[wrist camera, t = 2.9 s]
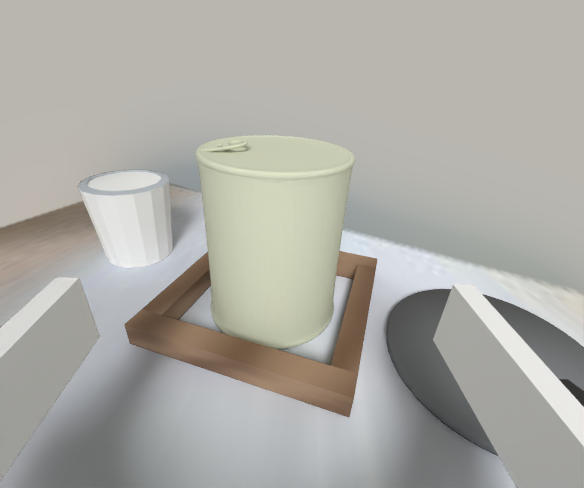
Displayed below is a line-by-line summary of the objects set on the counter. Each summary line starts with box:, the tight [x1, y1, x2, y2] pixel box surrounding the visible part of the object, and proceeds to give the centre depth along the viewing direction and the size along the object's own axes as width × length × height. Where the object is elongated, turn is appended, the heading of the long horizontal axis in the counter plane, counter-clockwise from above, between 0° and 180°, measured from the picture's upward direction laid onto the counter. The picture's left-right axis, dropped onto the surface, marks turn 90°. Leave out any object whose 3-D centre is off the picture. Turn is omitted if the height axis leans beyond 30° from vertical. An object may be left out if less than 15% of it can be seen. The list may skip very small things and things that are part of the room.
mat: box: [387, 289, 584, 455], centre depth 20 cm, size 13×13×1 cm
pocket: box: [125, 251, 377, 417], centre depth 23 cm, size 14×14×2 cm
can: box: [196, 136, 355, 349], centre depth 21 cm, size 9×9×12 cm
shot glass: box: [78, 169, 173, 268], centre depth 28 cm, size 7×7×7 cm
